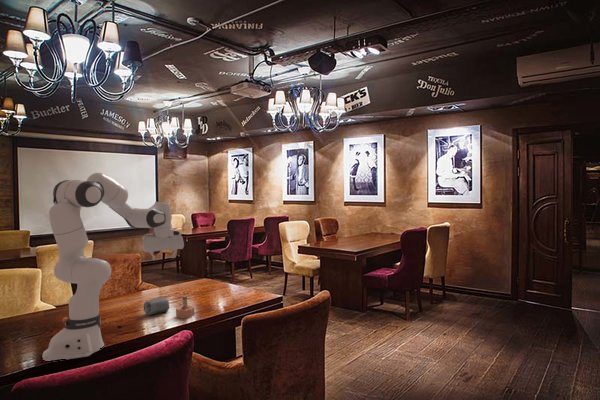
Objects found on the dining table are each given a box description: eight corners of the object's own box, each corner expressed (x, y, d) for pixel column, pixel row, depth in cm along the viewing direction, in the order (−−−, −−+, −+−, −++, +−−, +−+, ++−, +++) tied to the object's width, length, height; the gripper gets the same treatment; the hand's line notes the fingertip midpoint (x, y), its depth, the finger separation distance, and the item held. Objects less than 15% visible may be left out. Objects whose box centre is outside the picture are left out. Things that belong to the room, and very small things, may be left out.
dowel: (183, 316, 209) (183, 297, 209) (182, 315, 211) (181, 296, 211) (188, 315, 210) (187, 296, 210) (187, 314, 212) (186, 295, 212)
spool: (146, 312, 206) (147, 293, 211) (140, 317, 212) (141, 298, 217) (172, 313, 214) (172, 295, 219) (165, 318, 220) (166, 300, 225)
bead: (179, 319, 205) (179, 311, 205) (174, 314, 212) (174, 307, 212) (196, 315, 209) (195, 308, 209) (191, 311, 217) (191, 304, 217)
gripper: (143, 234, 197) (143, 262, 197) (184, 231, 208) (185, 257, 208) (140, 233, 202) (141, 260, 203) (181, 230, 213) (181, 256, 213)
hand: (164, 259), depth 206 cm, fingers open, 8 cm apart
